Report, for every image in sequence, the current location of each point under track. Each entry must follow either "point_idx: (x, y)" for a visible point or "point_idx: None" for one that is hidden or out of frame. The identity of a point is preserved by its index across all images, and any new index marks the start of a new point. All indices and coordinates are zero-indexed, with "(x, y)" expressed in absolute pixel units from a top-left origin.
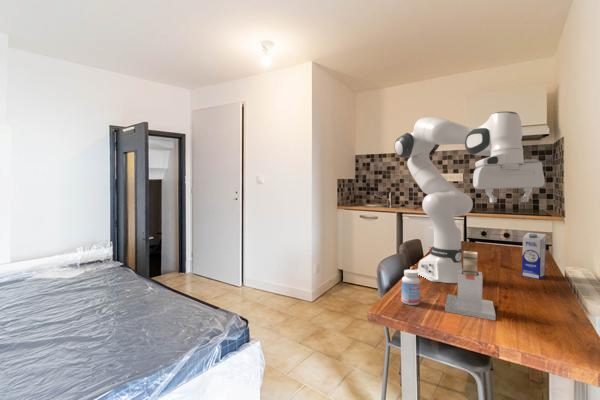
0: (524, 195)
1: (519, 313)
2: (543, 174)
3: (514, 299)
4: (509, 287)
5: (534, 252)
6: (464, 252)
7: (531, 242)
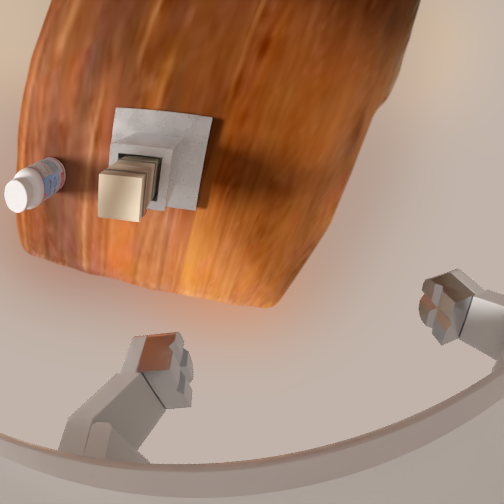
0: (477, 313)
1: (255, 150)
2: None
3: (279, 60)
4: None
5: None
6: (100, 206)
7: None
